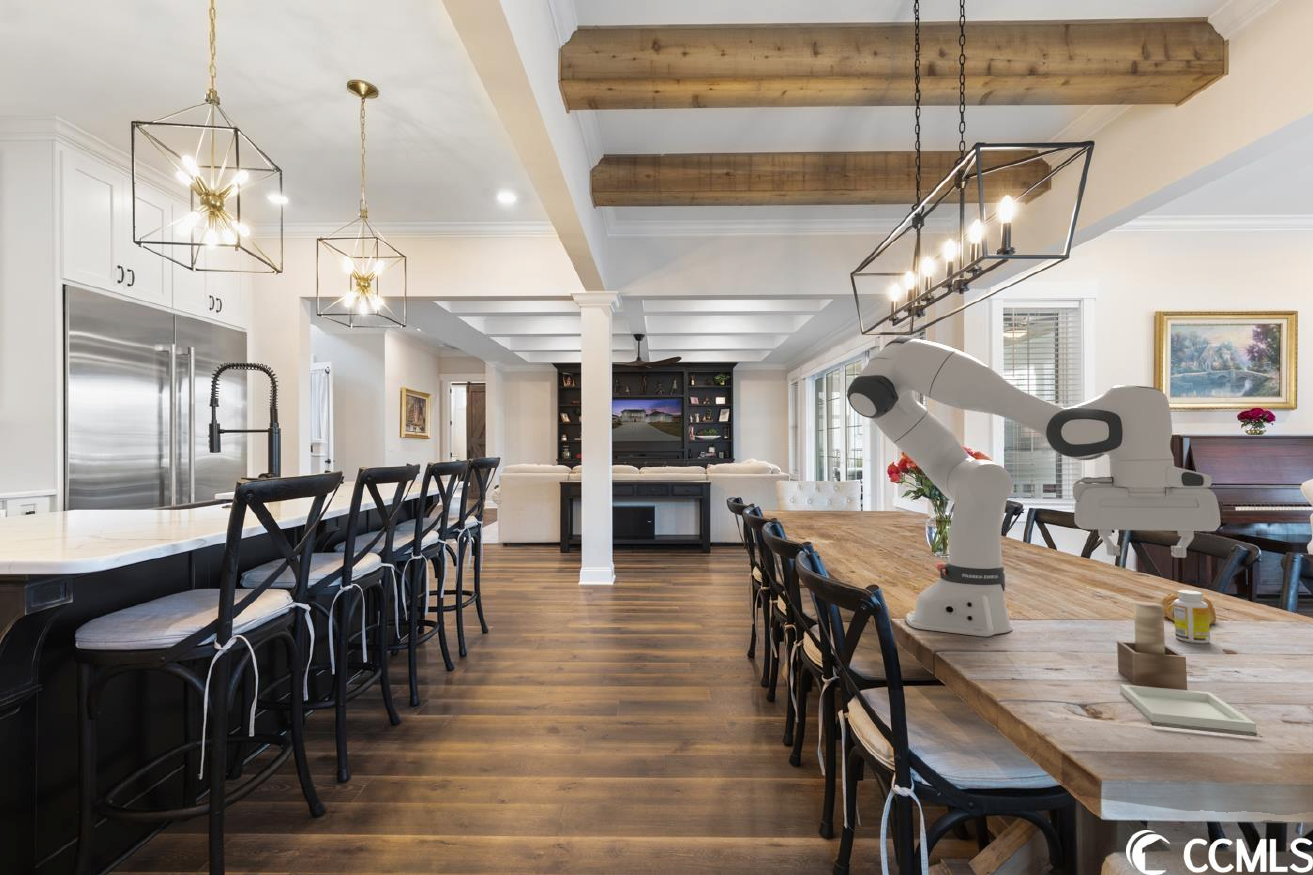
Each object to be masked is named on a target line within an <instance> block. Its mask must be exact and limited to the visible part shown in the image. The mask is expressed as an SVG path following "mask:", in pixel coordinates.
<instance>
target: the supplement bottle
mask: <svg viewBox="0 0 1313 875" xmlns="http://www.w3.org/2000/svg"><path fill="white" fill-rule="evenodd" d="M1177 593H1178V598H1179V599H1176V600H1174V619H1175V621H1174V631H1175V632H1174V633H1175V637H1176V639H1177V640H1180V641H1182V642H1186V643H1191V644H1209V642H1210V640H1211V633H1210V632H1211V631H1210V624H1209V612H1208V604H1207V603H1205V602H1203V597H1204V596H1203V595H1204V594H1203V593H1202V592H1200V591H1197V590H1187V589H1180V590H1177Z"/></svg>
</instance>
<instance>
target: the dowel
mask: <svg viewBox="0 0 1313 875" xmlns="http://www.w3.org/2000/svg"><path fill="white" fill-rule="evenodd" d="M1164 616H1165V615H1164V612H1163V605H1160V604H1159V603H1155V602H1148V601H1134V602H1133V617H1134V621H1133V622H1134V641H1135V649H1136V653H1150V654H1164V655H1165V645H1166V641H1165V640H1166V639H1165V636H1166V635H1165V619H1164V618H1165V617H1164Z"/></svg>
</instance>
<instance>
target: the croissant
mask: <svg viewBox="0 0 1313 875" xmlns="http://www.w3.org/2000/svg"><path fill="white" fill-rule="evenodd" d="M1176 599H1179V598H1178V592H1172V593H1169V594H1167V595H1166V596H1164V597H1163V598H1162V599H1161V600H1160V601H1159V603H1158V604H1160V605H1163V612H1164V616H1165V617H1167V618H1168V619H1169V620H1170V621H1171V620H1172V621H1174V622H1175V619H1174V600H1176ZM1203 602H1205V603H1207V604H1208V612H1209V625H1213V624H1215V623H1216V622H1217V616H1216V610H1215V608H1214V605H1213V604H1212V602H1211V601H1210V600H1209V599H1208V598H1207V597H1205V596H1203Z"/></svg>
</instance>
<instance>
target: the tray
mask: <svg viewBox="0 0 1313 875" xmlns="http://www.w3.org/2000/svg"><path fill="white" fill-rule="evenodd" d="M1119 692H1120V693H1121V694H1122V695H1123V696H1124V697H1125V698H1126V699H1127V700H1128V701H1129V702H1130V703H1132V705H1134V706H1135V707H1136V708H1137V709H1138V710H1139V711H1140V712H1141V713H1142V714H1144V715H1145V717H1146V718H1148V719H1149V720H1150V721H1151V722H1150V725H1152V726H1153V727H1163V728H1169V729H1171V728H1172V729H1180V730H1181V729H1182V730H1189V731H1197V732H1198V731H1199V732H1209V733H1219V734H1227V735H1237V736H1239V735H1240V736H1248V737H1257V736H1258V734H1257V723H1256V722H1254V721H1253V720H1251V719H1250V718H1248V717H1247V716H1246V715H1245V714H1242V713H1241V712H1240V711H1238V710H1237V709H1235V707H1232V706H1231V705H1229V704H1228V703H1226V702H1225V700H1224V701H1223V700H1222V699H1221V698H1219V697H1218V696H1216V695H1214V693H1212V692H1211V691H1199V690H1188V689H1187V690H1178V689H1167V688H1155V687H1144V686H1135V685H1133V684H1132V685H1130V684H1122V683H1121V684H1119Z"/></svg>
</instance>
